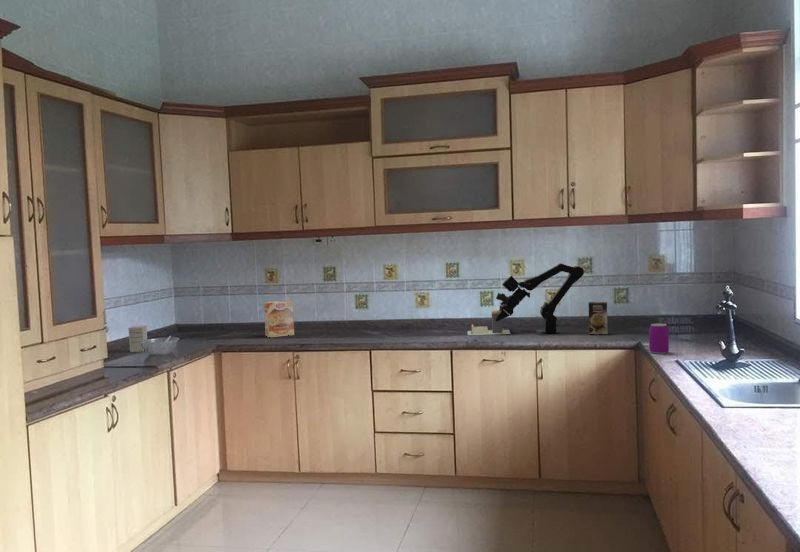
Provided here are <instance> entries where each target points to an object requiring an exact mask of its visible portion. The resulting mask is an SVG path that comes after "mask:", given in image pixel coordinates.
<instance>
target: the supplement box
mask: <svg viewBox="0 0 800 552" xmlns="http://www.w3.org/2000/svg"><path fill="white" fill-rule="evenodd" d="M127 330H128V342H129V343H128V344H129V352H130V353H136V352H139V353H140V352H145V351H144V349H143V348H142V346H141V342H142V341H144V340H147V341H148V331H147V330H148V329H147V325H145V324H144V325H143V324H141V325H132V326H129V327H128V329H127Z"/></svg>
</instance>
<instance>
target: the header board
mask: <svg viewBox="0 0 800 552" xmlns="http://www.w3.org/2000/svg"><path fill="white" fill-rule="evenodd" d="M509 334H510V335H511V332H510V330H509V329H502V333H493V332H492V329H490V330H489V329H488V326H474V324H471V330H467V335H468V336H477V335H478V336H479V335H480V336H481V335H485V336H486V335H509Z"/></svg>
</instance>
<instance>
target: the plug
mask: <svg viewBox="0 0 800 552" xmlns="http://www.w3.org/2000/svg"><path fill="white" fill-rule="evenodd" d="M500 312H501V311H499V310H491V330H492V332H493V333H502V330H503V319H501V320H499V321H496V318H497V317H498V315H499V314H500Z"/></svg>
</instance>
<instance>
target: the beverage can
mask: <svg viewBox="0 0 800 552" xmlns="http://www.w3.org/2000/svg"><path fill="white" fill-rule="evenodd" d="M669 330H670V329H669V328H668V326H667V324H666V323H651V324H650V327H649V330H648V336H649V337H648V338H649V339H648V340H649V341H648V342H649V344H648V345H649V351H650V352H651V354H655V355H663V354H668V352H669V350H670V345H669V344H670V343H669V342H670V338H669V334H670V333H669V332H670V331H669Z"/></svg>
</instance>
